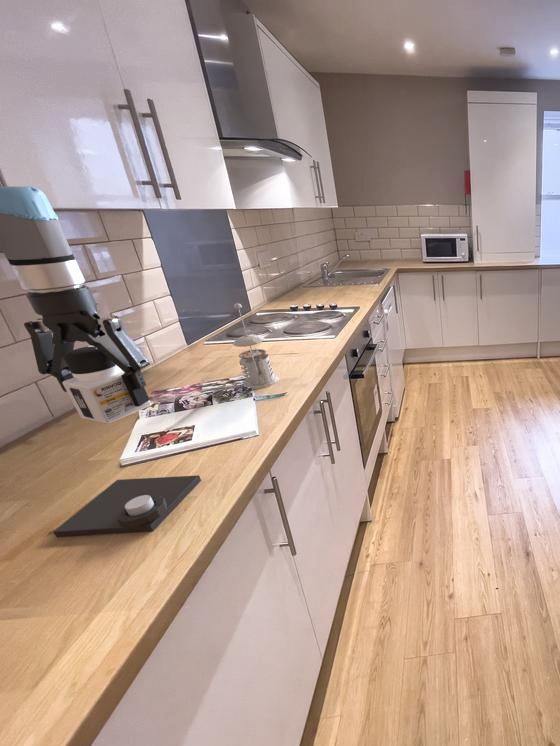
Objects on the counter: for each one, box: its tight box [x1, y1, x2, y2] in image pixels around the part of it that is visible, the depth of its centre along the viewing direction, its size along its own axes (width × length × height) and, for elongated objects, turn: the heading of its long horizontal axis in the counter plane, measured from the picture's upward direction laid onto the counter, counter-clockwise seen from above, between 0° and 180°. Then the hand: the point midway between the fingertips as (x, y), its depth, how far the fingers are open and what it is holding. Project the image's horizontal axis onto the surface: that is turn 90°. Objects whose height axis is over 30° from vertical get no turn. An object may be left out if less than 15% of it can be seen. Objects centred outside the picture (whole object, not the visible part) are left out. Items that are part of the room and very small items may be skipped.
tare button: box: [125, 495, 154, 516], centre depth 73 cm, size 4×4×2 cm
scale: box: [52, 474, 202, 538], centre depth 77 cm, size 16×14×3 cm
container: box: [62, 345, 152, 424], centre depth 76 cm, size 8×8×13 cm
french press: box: [232, 302, 280, 390], centre depth 122 cm, size 10×12×25 cm
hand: (113, 404), depth 78 cm, fingers closed on container, 10 cm apart
